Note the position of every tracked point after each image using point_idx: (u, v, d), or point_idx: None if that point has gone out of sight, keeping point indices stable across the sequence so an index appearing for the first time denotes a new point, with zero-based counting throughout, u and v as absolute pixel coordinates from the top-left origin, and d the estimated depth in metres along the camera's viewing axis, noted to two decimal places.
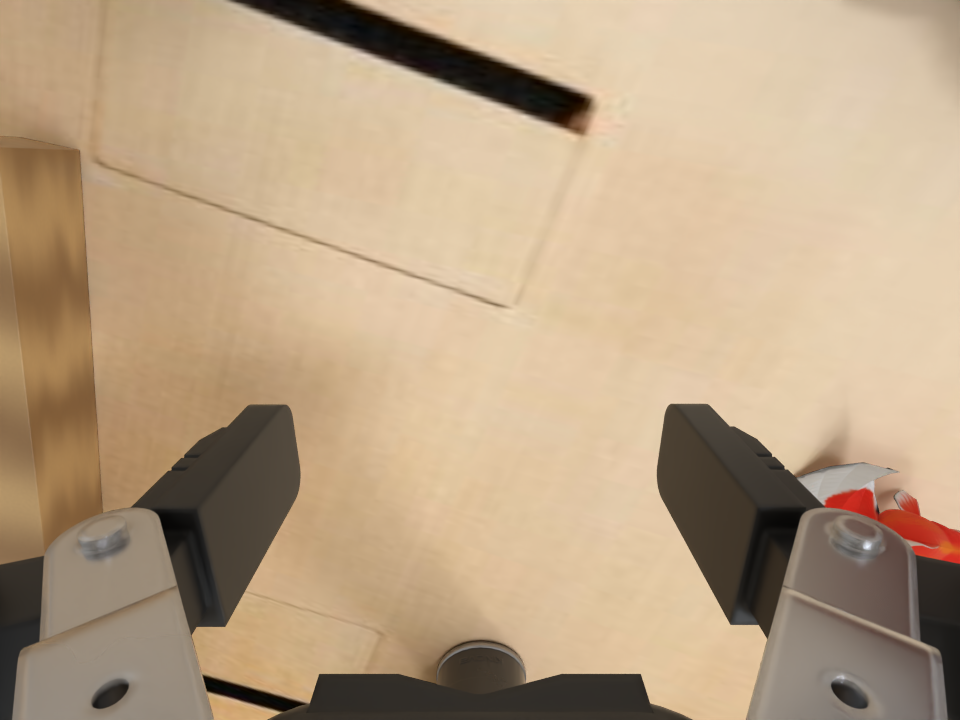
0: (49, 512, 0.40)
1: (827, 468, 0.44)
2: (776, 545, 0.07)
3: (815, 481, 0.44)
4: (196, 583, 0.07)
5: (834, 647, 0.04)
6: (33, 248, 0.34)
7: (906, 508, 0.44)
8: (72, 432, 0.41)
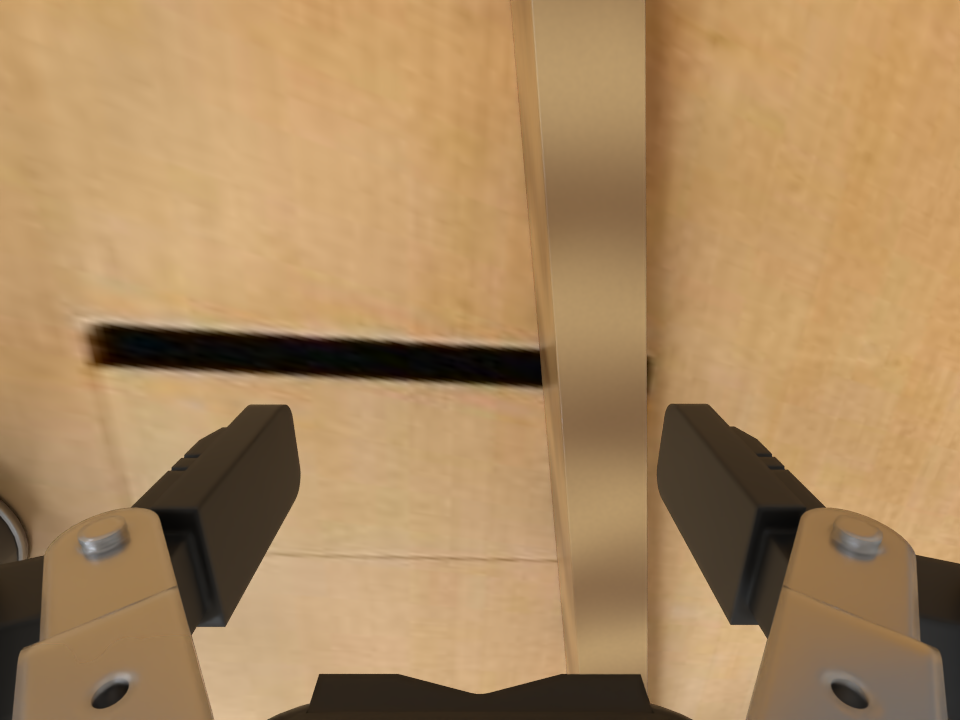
0: None
1: None
2: (776, 545, 0.07)
3: None
4: (197, 583, 0.07)
5: (834, 647, 0.04)
6: None
7: None
8: None
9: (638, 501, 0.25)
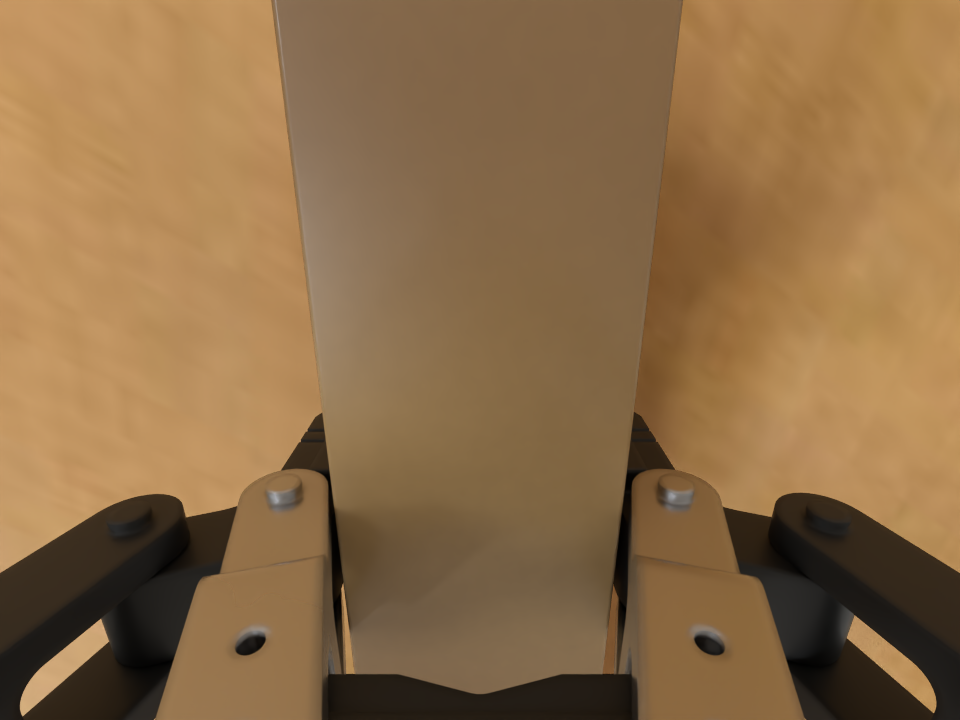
0: None
1: None
2: None
3: None
4: None
5: (688, 603, 0.05)
6: None
7: None
8: None
9: None
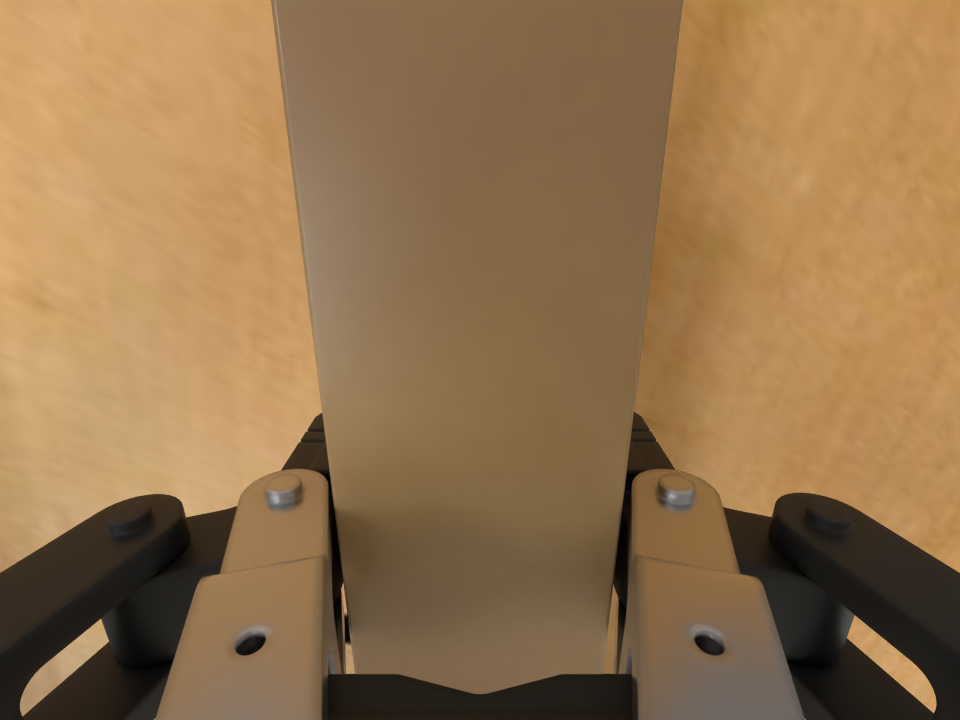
0: None
1: None
2: None
3: None
4: None
5: (688, 603, 0.05)
6: None
7: None
8: None
9: None
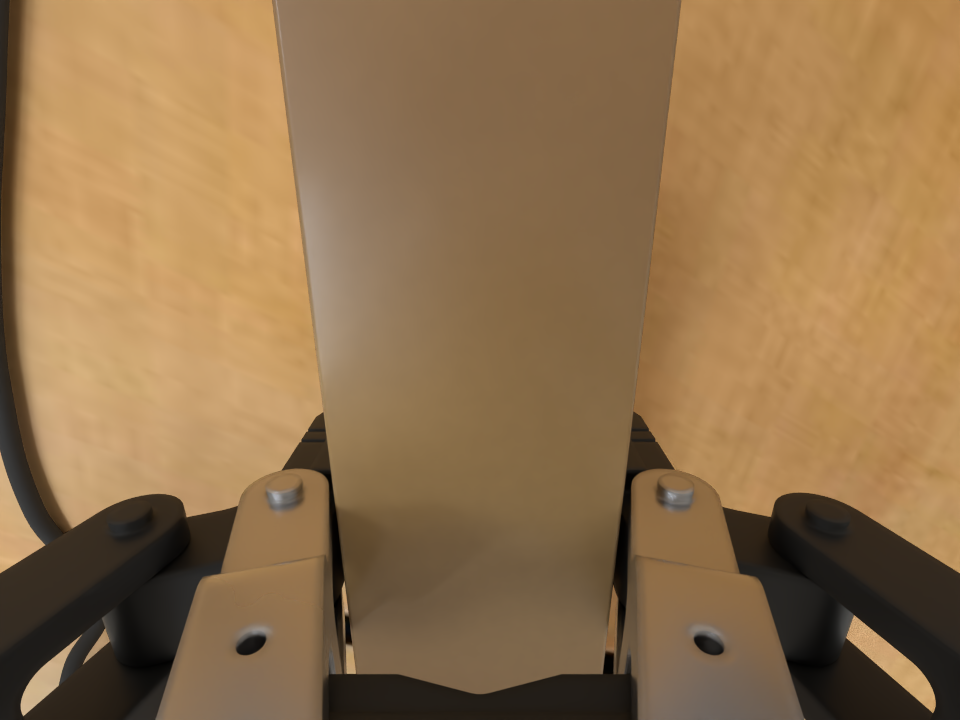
0: None
1: None
2: None
3: None
4: None
5: (688, 602, 0.05)
6: None
7: None
8: None
9: None
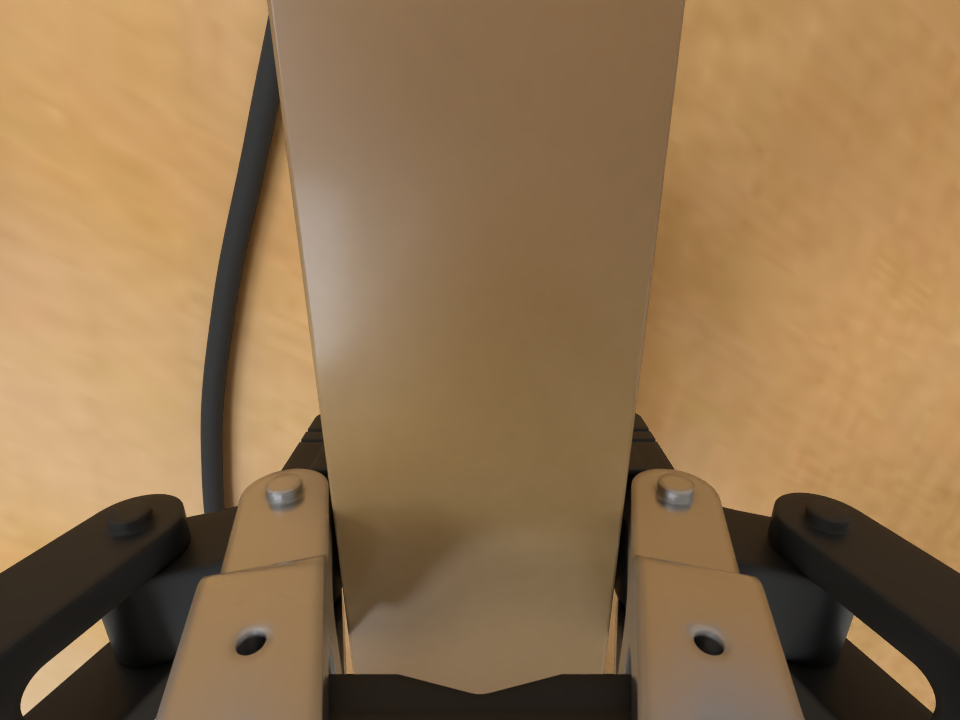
0: None
1: None
2: None
3: None
4: None
5: (687, 602, 0.05)
6: None
7: None
8: None
9: None
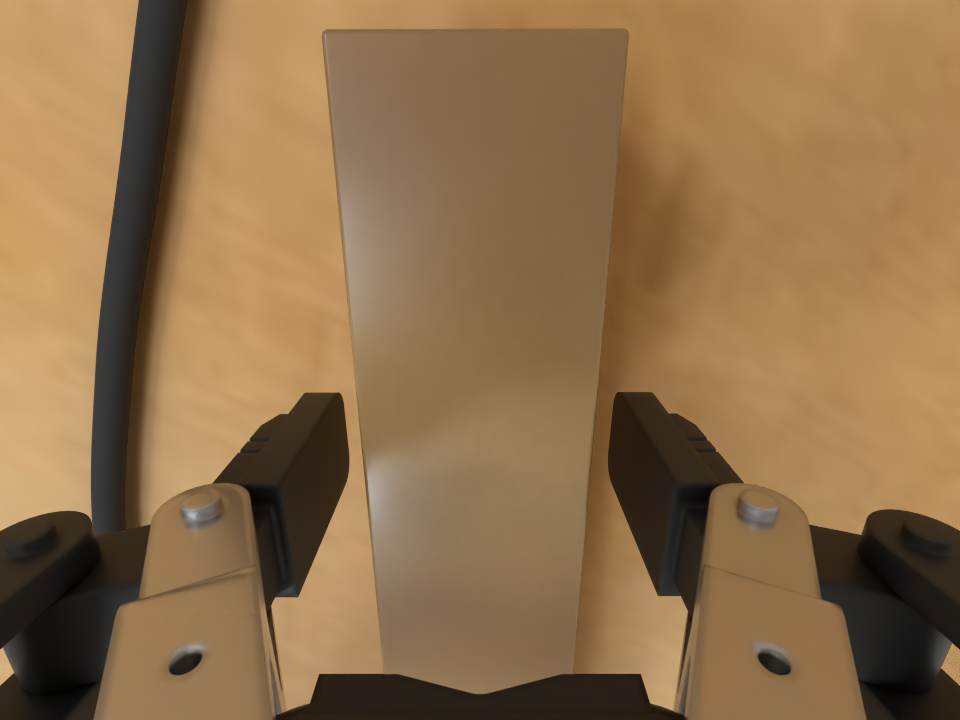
0: None
1: None
2: (691, 518, 0.08)
3: None
4: (275, 554, 0.08)
5: (756, 619, 0.05)
6: None
7: None
8: None
9: None
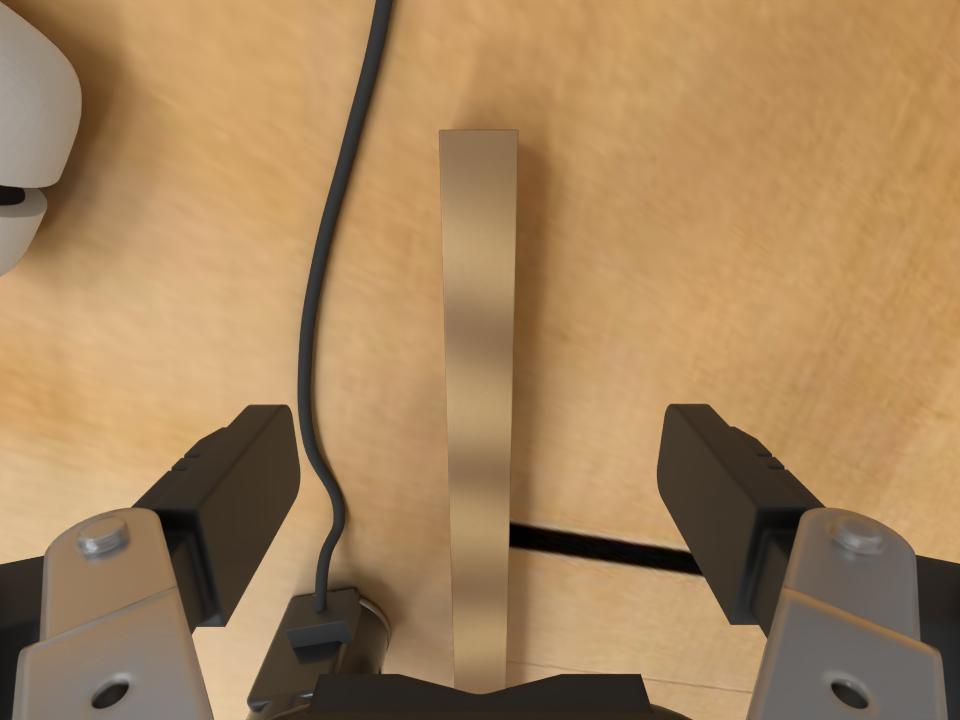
0: None
1: None
2: (776, 545, 0.07)
3: None
4: (197, 583, 0.07)
5: (834, 647, 0.04)
6: None
7: None
8: None
9: (500, 638, 0.38)
